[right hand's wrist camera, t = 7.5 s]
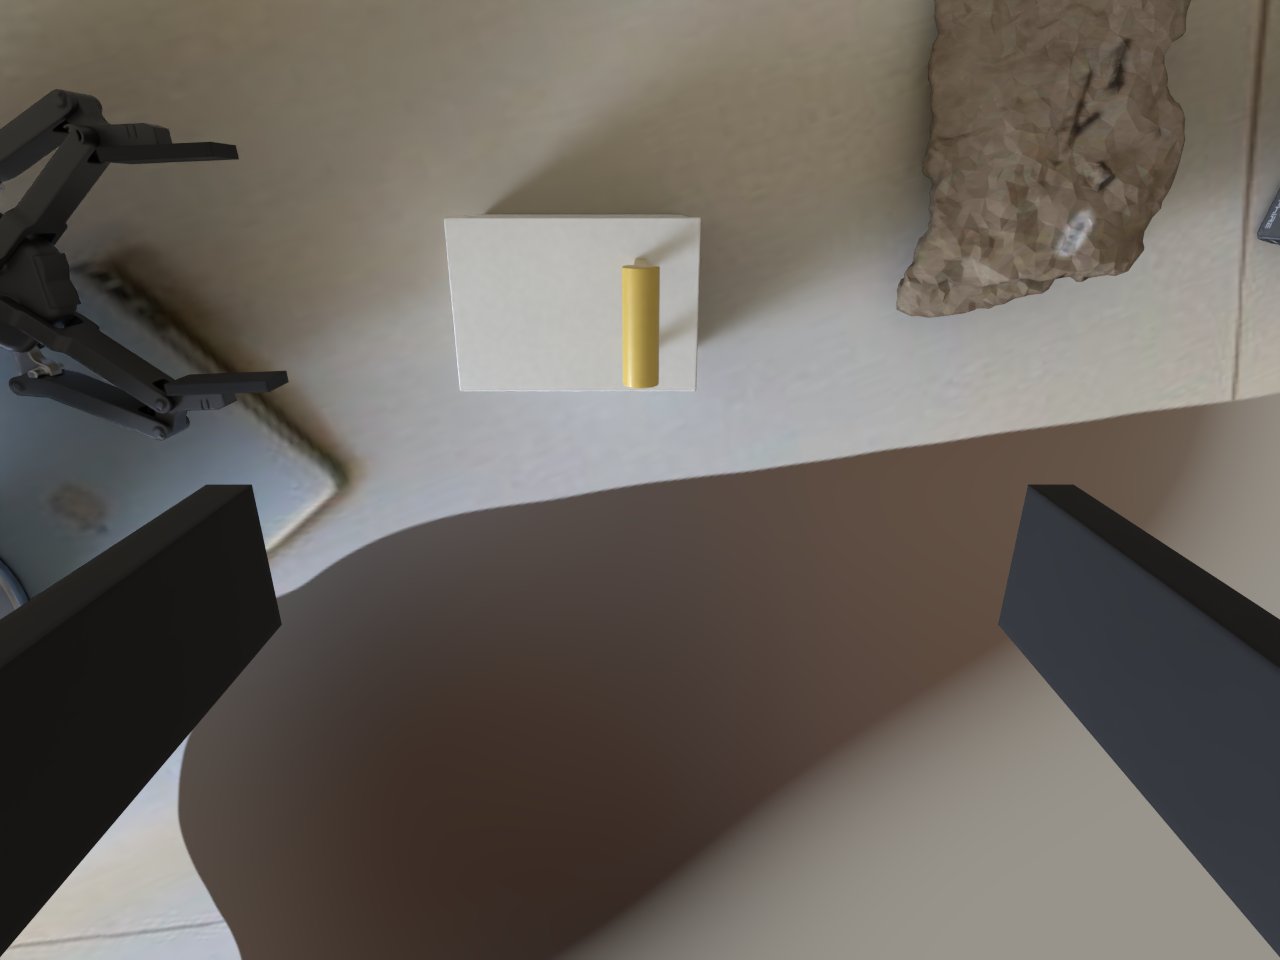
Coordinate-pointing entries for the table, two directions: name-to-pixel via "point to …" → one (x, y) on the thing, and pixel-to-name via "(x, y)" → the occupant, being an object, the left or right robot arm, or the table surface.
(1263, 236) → the graphics card box
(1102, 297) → the table surface
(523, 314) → the lid
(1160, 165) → the stone
